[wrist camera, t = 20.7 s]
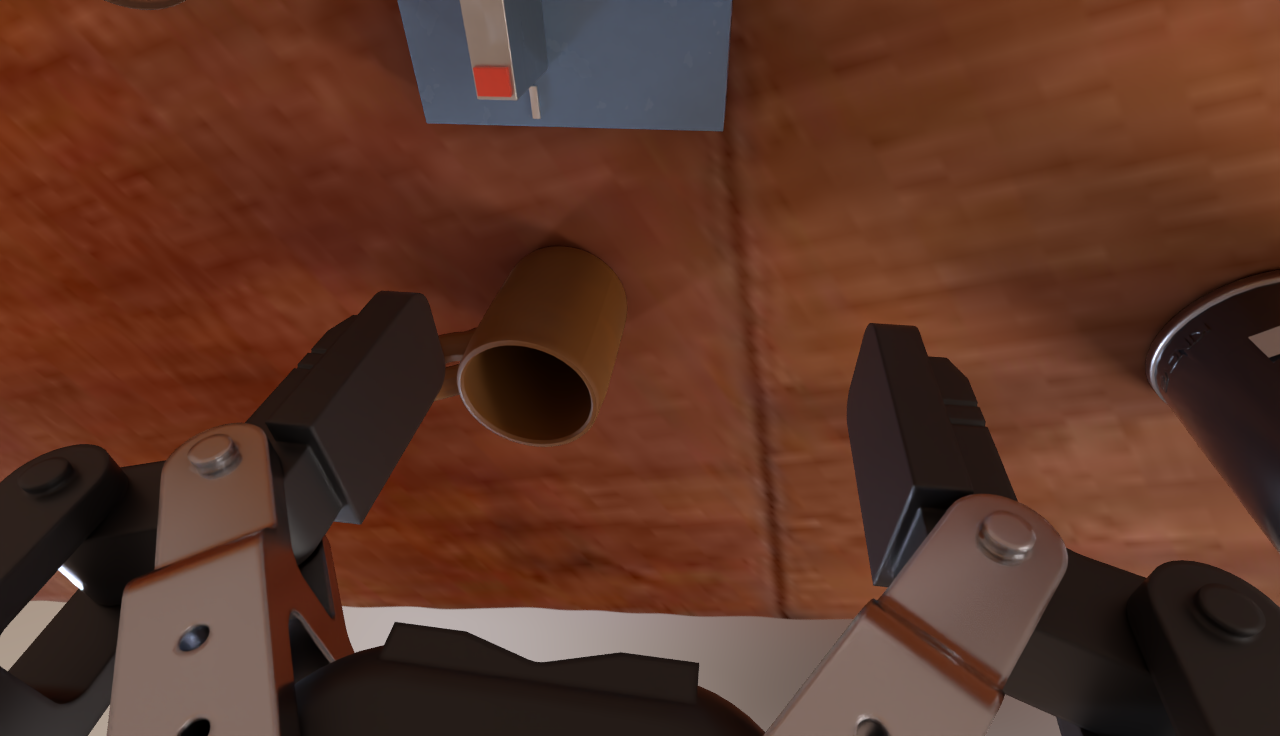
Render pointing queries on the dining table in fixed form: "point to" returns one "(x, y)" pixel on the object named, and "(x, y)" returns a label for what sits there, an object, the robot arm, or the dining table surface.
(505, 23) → the brushed steel block
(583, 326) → the mug
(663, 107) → the control panel
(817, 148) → the dining table surface
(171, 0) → the cup and saucer
